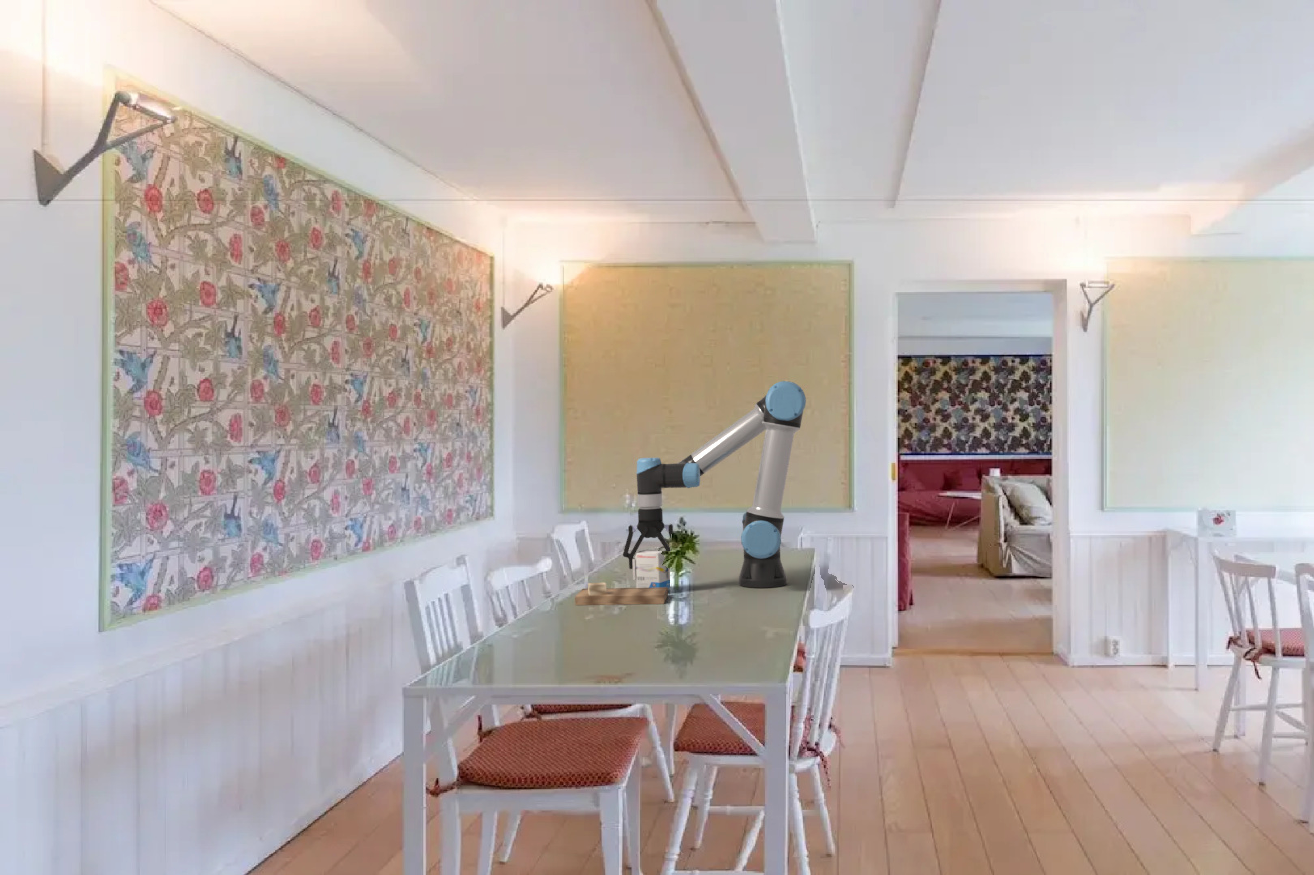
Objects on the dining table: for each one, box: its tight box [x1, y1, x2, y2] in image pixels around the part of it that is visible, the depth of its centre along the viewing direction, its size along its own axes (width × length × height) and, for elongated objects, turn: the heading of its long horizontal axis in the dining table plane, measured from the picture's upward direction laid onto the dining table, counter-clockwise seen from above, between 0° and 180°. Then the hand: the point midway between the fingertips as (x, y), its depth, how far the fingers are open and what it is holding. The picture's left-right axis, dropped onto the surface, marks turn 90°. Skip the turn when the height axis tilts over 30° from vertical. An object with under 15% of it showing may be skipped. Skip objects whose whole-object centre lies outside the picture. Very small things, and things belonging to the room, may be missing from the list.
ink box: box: [634, 548, 671, 589], centre depth 315 cm, size 9×8×12 cm
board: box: [574, 587, 669, 606], centre depth 303 cm, size 26×14×3 cm, turn 85°
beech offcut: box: [587, 582, 607, 596], centre depth 300 cm, size 5×4×3 cm
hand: (652, 579), depth 314 cm, fingers closed on ink box, 10 cm apart
